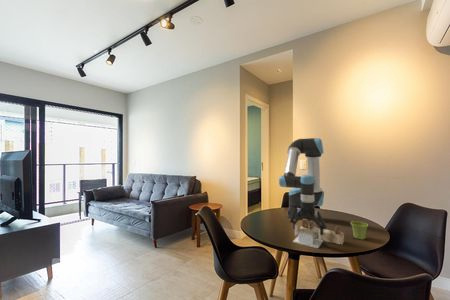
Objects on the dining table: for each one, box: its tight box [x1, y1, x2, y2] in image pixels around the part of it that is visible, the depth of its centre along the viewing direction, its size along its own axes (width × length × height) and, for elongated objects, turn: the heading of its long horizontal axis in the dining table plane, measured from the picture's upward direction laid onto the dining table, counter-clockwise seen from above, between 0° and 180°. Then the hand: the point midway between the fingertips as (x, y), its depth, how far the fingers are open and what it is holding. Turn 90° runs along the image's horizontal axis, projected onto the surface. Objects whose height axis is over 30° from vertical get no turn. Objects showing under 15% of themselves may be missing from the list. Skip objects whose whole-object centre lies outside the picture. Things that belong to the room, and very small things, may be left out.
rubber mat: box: [292, 235, 324, 249], centre depth 129 cm, size 14×11×1 cm
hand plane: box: [299, 218, 345, 246], centre depth 135 cm, size 24×6×10 cm, turn 54°
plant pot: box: [350, 221, 369, 240], centre depth 136 cm, size 9×9×9 cm
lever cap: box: [297, 229, 317, 245], centre depth 129 cm, size 9×8×6 cm
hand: (307, 237), depth 129 cm, fingers open, 13 cm apart
